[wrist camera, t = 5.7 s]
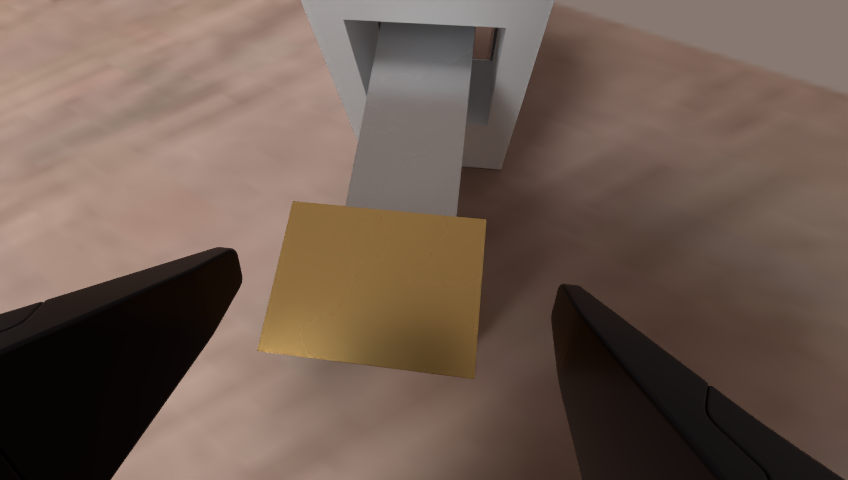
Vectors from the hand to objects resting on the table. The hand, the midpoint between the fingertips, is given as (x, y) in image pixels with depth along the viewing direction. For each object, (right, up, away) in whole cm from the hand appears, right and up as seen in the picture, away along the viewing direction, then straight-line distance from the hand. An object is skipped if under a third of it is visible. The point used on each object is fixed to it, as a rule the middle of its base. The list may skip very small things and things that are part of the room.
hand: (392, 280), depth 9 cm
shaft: (+1, +2, +6) cm, 7 cm away
